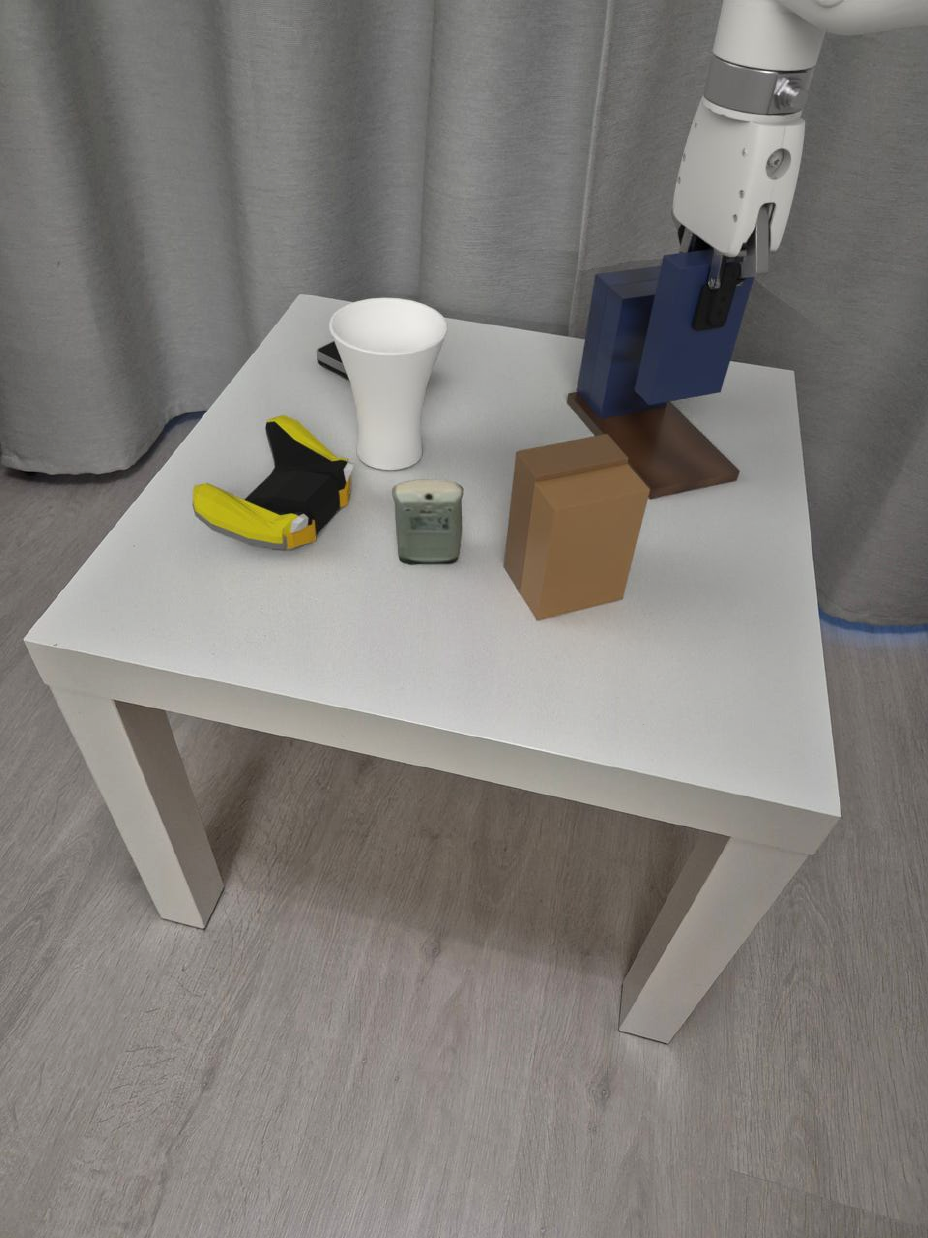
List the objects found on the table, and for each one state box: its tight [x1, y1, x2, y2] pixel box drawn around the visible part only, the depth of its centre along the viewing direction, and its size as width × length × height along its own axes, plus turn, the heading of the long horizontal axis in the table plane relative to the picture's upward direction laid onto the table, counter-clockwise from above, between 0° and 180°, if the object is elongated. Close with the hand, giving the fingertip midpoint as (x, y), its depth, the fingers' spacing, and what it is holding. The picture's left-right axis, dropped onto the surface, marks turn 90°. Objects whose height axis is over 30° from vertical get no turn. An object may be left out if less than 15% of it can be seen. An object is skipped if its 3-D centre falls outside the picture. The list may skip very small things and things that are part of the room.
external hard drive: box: [316, 340, 349, 380], centre depth 97 cm, size 7×11×2 cm, turn 51°
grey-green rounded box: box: [391, 478, 464, 566], centre depth 74 cm, size 6×5×8 cm
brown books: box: [503, 434, 650, 622], centre depth 71 cm, size 8×7×12 cm
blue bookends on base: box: [566, 265, 741, 500], centre depth 86 cm, size 10×18×14 cm, turn 22°
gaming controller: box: [192, 414, 355, 551], centre depth 78 cm, size 15×6×10 cm
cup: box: [328, 297, 448, 471], centre depth 82 cm, size 10×10×14 cm
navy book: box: [635, 249, 755, 405], centre depth 79 cm, size 8×3×13 cm, turn 112°
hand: (697, 316), depth 79 cm, fingers closed on navy book, 2 cm apart
